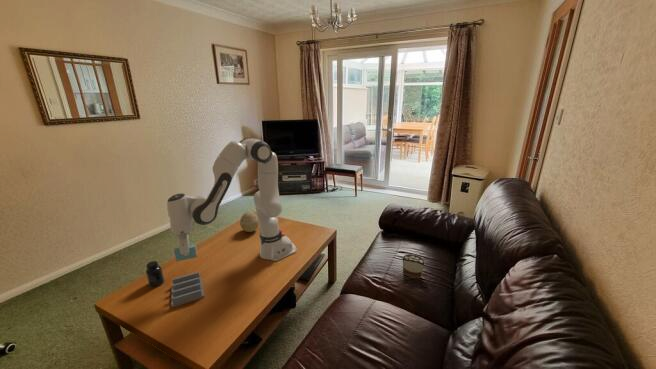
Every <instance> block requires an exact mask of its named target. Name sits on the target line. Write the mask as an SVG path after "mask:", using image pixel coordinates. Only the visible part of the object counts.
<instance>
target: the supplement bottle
mask: <svg viewBox="0 0 656 369" xmlns="http://www.w3.org/2000/svg"><path fill="white" fill-rule="evenodd" d="M145 274H146V278H147V281H148V285H149V287H152V288H156V287H159V286H161V285H163V283H164V282H165V277H164V273H163V270H162V266H161V265H159V263H158V261H156V260H153V261H150V262H148V263H147V264H146V270H145Z"/></svg>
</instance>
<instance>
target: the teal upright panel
mask: <svg viewBox="0 0 656 369" xmlns="http://www.w3.org/2000/svg"><path fill="white" fill-rule="evenodd" d="M173 252H174V256H175V262H180V261H186V260H190V259H194V258H197V257H198V253H197V247H196V244H195V243H194V244H191V245H190V244H189V253H188V255H187V256H184V255H181V254H180V249H179V247H175V248H174V250H173Z"/></svg>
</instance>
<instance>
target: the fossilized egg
mask: <svg viewBox="0 0 656 369" xmlns="http://www.w3.org/2000/svg"><path fill="white" fill-rule="evenodd" d="M239 221H240V222H239V224H240V227H241V229H242V230H243V231H244V232H247V233H253V232H254V231H256V230H257V229H258V227H259V220H258V216H257V213H254V212H253V211H246V212H244V213H243V214H242V215H241V217H240V220H239Z"/></svg>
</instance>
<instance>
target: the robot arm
mask: <svg viewBox="0 0 656 369" xmlns="http://www.w3.org/2000/svg"><path fill="white" fill-rule="evenodd" d="M246 159H249V160H252V161H255V162H257V188H258V191H256V192H255V193H254V195H253V204H254V206H255V207H254V208H255V212H256V216H257V217H258V220H259V225H258V227H259V242H260V250H259V258H261V259H263V260H268V261H269V260H271V261H273V262H277V261H279V260H282V259H283V258H286V257H288V256H291V255H293V254H295V253H297V247H296V245H295V244H294V243H293V241H291V239H290V238H289V237H288V236H286V234H285V233H284V232H283V231H282V230H281V229H280V226H279V219H278V217H279V216H280V215H281V213H282V212H283V211H282V210H283V207H282V203H281V198H280V192H279V191H280V190H279V184H278V183H279V182H278V181H279V163H278V157H277V154H276V152H273V151H272V149H271V146H270V145H269V144H268V143H267V142H265V141H263V140H260V139H259V138H252V137H245V138H242V139H241V140H240V141H237V140H233V141H229V142H228V143H227V145H226V146H224V148H223V149H222V150H221V152H219V154H218V156H217V157H216V159H215V161H214V163H213V165H212V172H213V176H214V183H213V186H212V188H211V190H210V192H209V194H208V195H207V197H206V198H205V197H203V196H200V195H199V196H197V195H196V196H192V195H188V194H185V193H177V194H174V195H172V196H171V195H170V197H169V198H168V200H167V203H166V204H167V205H166V207H167V215H168V217H169V220H170V221H169V224H170V230H171V234H172V235H174V236H175V237H178V238H177V240H178V248H179V249H180V254H181V255H184V256H187V255H188V253H189V245H190V241H189V240H190V238H189V235H190V234H191V232H192V231H193V221H194V223H196V224H198V225H200V226H206V225H210V224H212V223H213V222H214V221H215V220H216V218H217V217H218V211H219V207H220V205H221V203H222V201H223V199H224V197H225V196H226V193H227V191H228V190H229V188H230V185H231V183H232V180H233V178H234V176H235V175H236V173H237V171H238V169H239V168H240V167H241V165H242V163H243V162H244V161H245V160H246ZM192 219H193V221H192Z"/></svg>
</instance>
